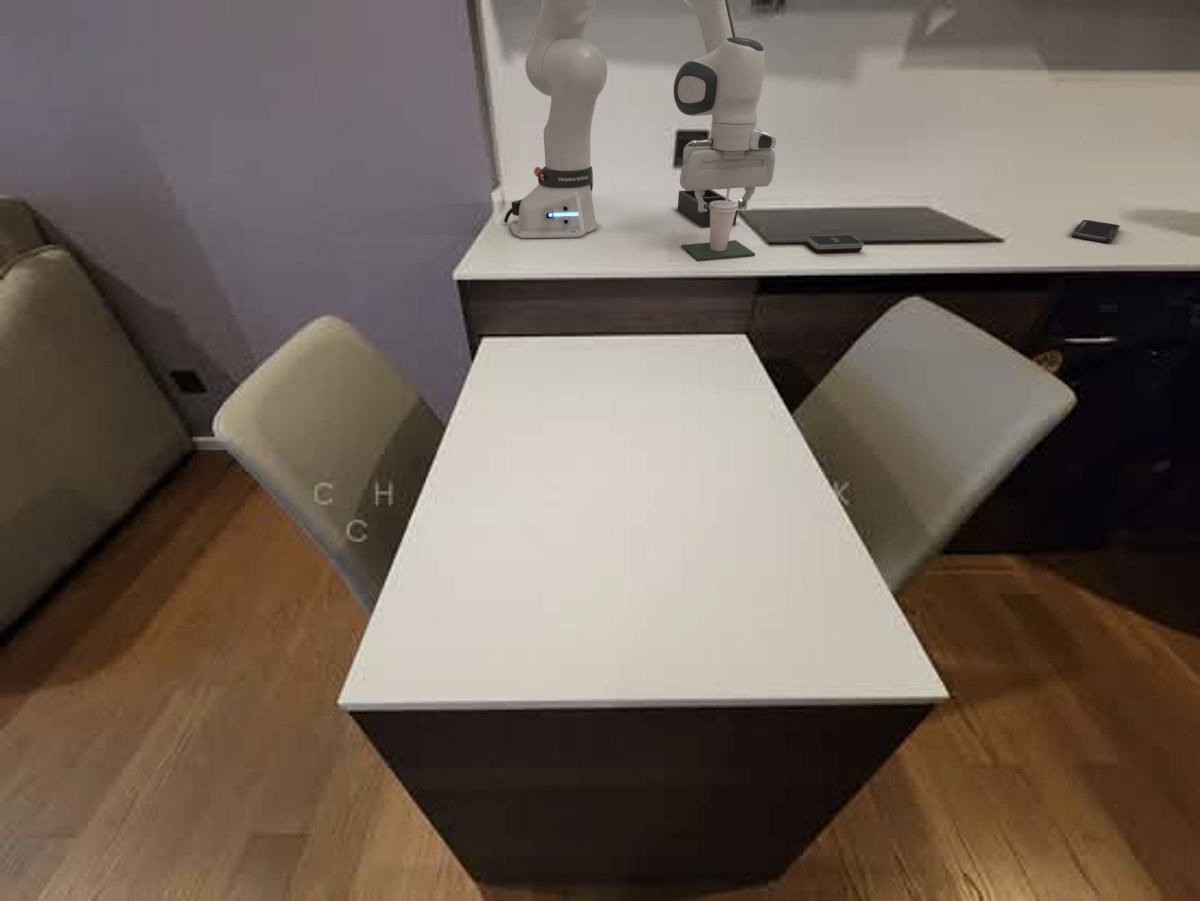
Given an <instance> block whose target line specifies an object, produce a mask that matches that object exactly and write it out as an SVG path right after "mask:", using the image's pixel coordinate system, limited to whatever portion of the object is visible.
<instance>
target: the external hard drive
mask: <svg viewBox="0 0 1200 901" xmlns="http://www.w3.org/2000/svg"><path fill="white" fill-rule="evenodd" d="M805 245H807V246H808V247H810V249H812V250H813V251H814V252H815V253H818V254H823V253H847V252H848V253H849V252H850V253H851V252H860V251H862V249H863V246H864V242H863V241H861V240H860V239H858V237H855V236H853V235H852V234H829V235H828V234H825V235H807V236H806V240H805Z"/></svg>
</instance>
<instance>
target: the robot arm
mask: <svg viewBox="0 0 1200 901" xmlns="http://www.w3.org/2000/svg"><path fill="white" fill-rule="evenodd" d="M683 2H685V3H686V4H687V5H688V6H689V8H690V9H691V10H692V11H693V13H694V14H695V16H696V18H697V20H698V24H699V28H700V32H701V36H702V40H703V44H704V49H705V52H706V54H705V55H703V56H700V57H697V58H694V59H692V60H690V61H687V62H685V63H684V64H683V65H682V66H680V68H679V70H678V72H677V73H676V75H675V79H674V82H673V98H674V102H675V105H676V106H677V109H678V110H679V112H681V113H682V114H683V115H686V116H691V117H699V116H701V117H702V116H710V115H711V128H710V136H709V138H705V139H704V138H703V139H692V140H690V142H688V143H686V144H685V146H684V147H683V151H682V165H681V170H680V177H679V185H680V187H681V188H682V189H683V190H684V191H686V190H687V191H695V196H696V198H697V201H698V202H699V203H698V211H699V212H707V207H708V203H706V202H704V201H703V198H702V196H703V195H704V193H705V190H713V191H714V190H727V189H730V190H731V189H743V190H744V191H745V192H744V194H743V196H742V198H740V199H737V204H738V210H740V211H741V210H747V209H748V202H749V201H750V199H751V198H752V197H753V195H754V194H755V190H756V188H760V187H761V188H762V187H763V188H764V187H768V186H769V185H770V184H771V182H772V181H773V178H774V172H775V166H776V164H775V163H776V153H775V151H774V150H773V149H774V148H775V147H776V145H777V138H776V136H773V135H772V134H769V133H766V132H764V131H763V130H761V129H757V122H758V117H757V110H758V105H759V102H760V99H761V96H762V90H763V84H764V75H765V62H766V61H765V60H766V58H765V57H766V56H765V49H764V46H763V45H762V44H761V43H760V42H758V41H756V40H754V39H750V38H746V37H745V38H744V37H741V36H740V37H739V36H736V33H735V28H734V24H733V20H732V14H731V11H730V6H729V1H728V0H683ZM596 3H597V0H541V5H540V10H539V16H538V20H537V25H536V28H535V29H536V30H535V34H534V38H533V42H532V45H531V47H530V48H529V50H528V52H527V55H526V58H525V73H526V76H527V79H528V81H529V83H530V84H531V85H532V86H533V87H534V88H535V89H536V90H537V91H538V92H540V93H541V94H543V95H544V96H546V97H549V98H551V99H550V108H549V113H548V119H547V123H546V125H545V126H544V128H543V146H544V147H543V148H544V162H545V166H544V167H542V168H541V167H540V166H536V167H534V169H533V174H534V175H535V177H537V181H538V182H537V183H538V185H536V187H535V188H533V189H532V190H531V191H530V192H529V193H528V194H527V195H526V196H524V197H523V198H522V199H517V200H515V201H511V208H510V209H508V211H507V212H506V214H505V216H504V219H503V222H504V223H506V224H507V223H508V221H509V219H510V216H511V214H512V216H516V217H518V219H515V220H513V221H511V223H510V231H511V233H512V234H513V235H515V236H516V237H517V238H521V239H555V238H556V239H557V238H580V237H583V236H584V235H586V234H587V233H591V232H593V231H595V230H597V228H598V226H599V225H598V222H597V219H596V214H595V208H594V203H593V202H594V201H593V187H594V172H593V166H592V165H591V132H592V131H591V130H592V123H593V117H594V112H595V108H596V104H597V99H598V98H599V95H600V94H601V92H603V89H604V88H605V85H606V83H607V78H608V64H607V59H606V58H605V55H604V54H603V52H602V50H601V49H600V48H599V47H597V46H596V45H594V44H593V43H591V42H589V41H587V40H585V39H583V36H584V33H585V30H586V26H587V23H588V21H589V19H590V17H591V15H592V14H593V12H594V10H595V8H596Z"/></svg>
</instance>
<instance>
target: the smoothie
mask: <svg viewBox="0 0 1200 901" xmlns="http://www.w3.org/2000/svg"><path fill="white" fill-rule="evenodd" d="M730 190H731V188H730V189H726V195H725V197H726V200H718V201H712V202H710V204H709V209H710V227H709V243H710V249H711V250H714V251H724V250H726V247H727V243H728V241H730V237H731V236H730V235H731V232H732V227H733V226H734V225H733V221H734V217H735V213H736V211H737V210H738V211H739V209H738V202H736V201H733V200H731V201H728V199H730V198H729V197H730Z"/></svg>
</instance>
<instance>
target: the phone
mask: <svg viewBox="0 0 1200 901" xmlns="http://www.w3.org/2000/svg"><path fill="white" fill-rule="evenodd" d="M1120 228H1121V225H1119V224H1115V223H1110V222H1103V221H1096V220H1089V219H1083V220H1082V221H1081V222H1080V223H1079V224H1078V225H1077V226H1076V228H1075V229H1074V230H1073V232H1072V234H1071V237H1073V238H1076V239H1081V240H1088V241H1093V242H1098V243H1105V244H1106V243H1107V244H1109V243H1112V241H1113V240H1114V238H1115V237H1116V234H1117V233H1118V231H1119V229H1120Z"/></svg>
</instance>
